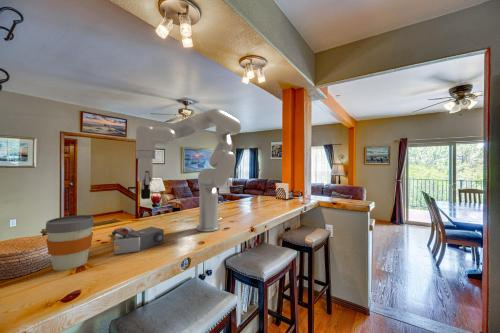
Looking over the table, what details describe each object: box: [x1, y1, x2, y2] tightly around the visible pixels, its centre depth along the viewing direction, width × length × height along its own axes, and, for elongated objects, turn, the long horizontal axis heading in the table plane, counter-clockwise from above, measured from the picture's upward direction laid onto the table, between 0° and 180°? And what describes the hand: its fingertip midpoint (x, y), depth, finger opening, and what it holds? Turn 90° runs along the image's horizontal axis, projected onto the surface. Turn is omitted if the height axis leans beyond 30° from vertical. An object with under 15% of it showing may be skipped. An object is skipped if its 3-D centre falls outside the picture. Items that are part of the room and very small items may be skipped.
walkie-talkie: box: [111, 226, 136, 240], centre depth 99 cm, size 9×4×20 cm
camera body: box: [128, 226, 165, 252], centre depth 91 cm, size 11×10×6 cm
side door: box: [113, 237, 141, 255], centre depth 82 cm, size 1×9×5 cm, turn 112°
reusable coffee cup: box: [44, 214, 95, 271], centre depth 73 cm, size 13×13×15 cm
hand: (145, 198), depth 93 cm, fingers closed
